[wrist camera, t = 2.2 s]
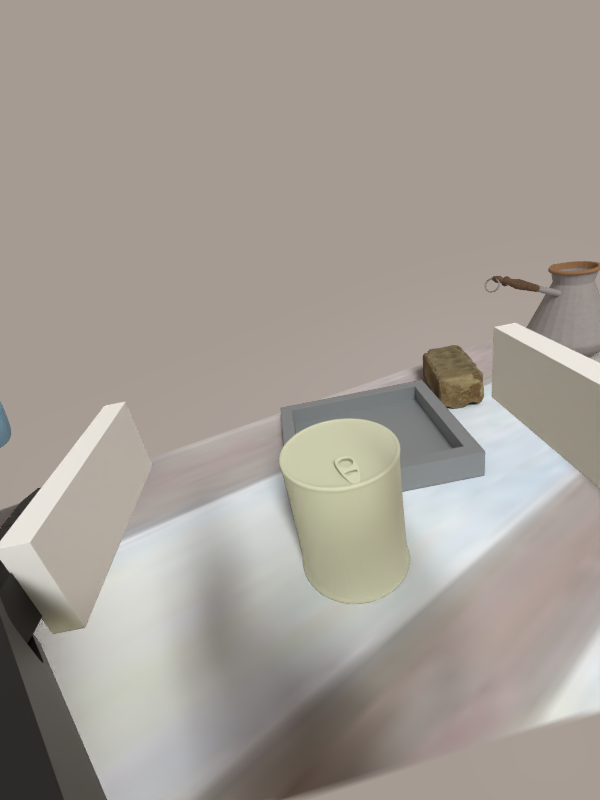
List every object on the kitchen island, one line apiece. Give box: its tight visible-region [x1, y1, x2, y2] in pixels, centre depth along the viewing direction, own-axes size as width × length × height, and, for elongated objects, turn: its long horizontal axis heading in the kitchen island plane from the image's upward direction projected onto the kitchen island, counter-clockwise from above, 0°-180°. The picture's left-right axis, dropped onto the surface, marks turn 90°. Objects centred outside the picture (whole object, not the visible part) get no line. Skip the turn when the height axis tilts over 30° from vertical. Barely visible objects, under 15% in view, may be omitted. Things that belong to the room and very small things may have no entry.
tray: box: [281, 380, 485, 492], centre depth 50 cm, size 20×18×3 cm
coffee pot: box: [485, 261, 600, 358], centre depth 59 cm, size 21×12×15 cm, turn 113°
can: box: [279, 418, 410, 604], centre depth 33 cm, size 9×9×12 cm
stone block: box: [423, 345, 484, 408], centre depth 58 cm, size 6×12×5 cm, turn 178°
